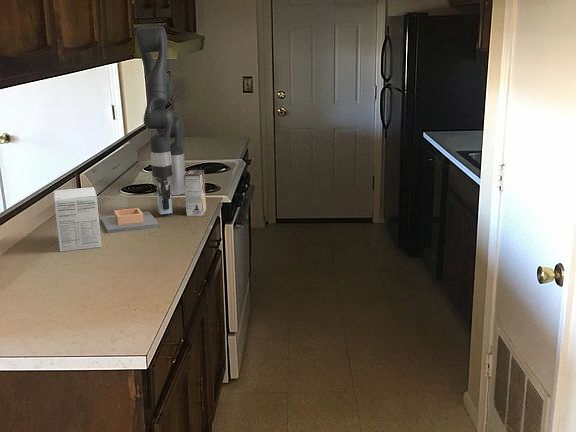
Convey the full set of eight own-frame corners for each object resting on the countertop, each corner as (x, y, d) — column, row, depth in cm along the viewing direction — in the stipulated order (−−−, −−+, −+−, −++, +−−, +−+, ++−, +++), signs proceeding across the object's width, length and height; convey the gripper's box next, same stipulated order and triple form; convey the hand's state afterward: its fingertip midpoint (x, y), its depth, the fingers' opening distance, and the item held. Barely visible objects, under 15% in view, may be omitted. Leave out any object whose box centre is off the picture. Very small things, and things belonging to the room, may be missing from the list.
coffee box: (190, 209, 254) (187, 169, 250) (206, 209, 254) (204, 169, 250) (186, 216, 245) (183, 174, 241) (203, 216, 245) (200, 174, 241)
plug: (157, 211, 247) (156, 191, 245) (169, 209, 249) (168, 189, 246) (160, 214, 243) (158, 193, 241) (172, 212, 245) (170, 192, 242)
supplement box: (102, 247, 211) (97, 195, 206) (59, 252, 207) (53, 199, 202) (99, 235, 223) (94, 186, 218) (58, 240, 219) (52, 190, 214)
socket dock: (100, 219, 242) (99, 209, 241) (149, 214, 248) (148, 203, 247) (107, 233, 226) (106, 221, 225) (158, 226, 233) (158, 215, 231)
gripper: (147, 160, 245) (151, 204, 250) (155, 168, 233) (158, 213, 238) (167, 158, 248) (170, 201, 253) (176, 166, 235) (179, 211, 240)
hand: (164, 207), depth 245 cm, fingers closed on plug, 4 cm apart
